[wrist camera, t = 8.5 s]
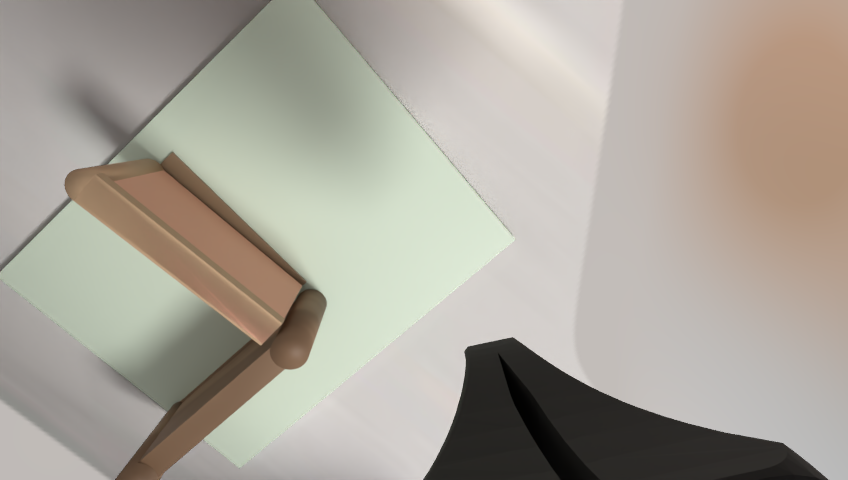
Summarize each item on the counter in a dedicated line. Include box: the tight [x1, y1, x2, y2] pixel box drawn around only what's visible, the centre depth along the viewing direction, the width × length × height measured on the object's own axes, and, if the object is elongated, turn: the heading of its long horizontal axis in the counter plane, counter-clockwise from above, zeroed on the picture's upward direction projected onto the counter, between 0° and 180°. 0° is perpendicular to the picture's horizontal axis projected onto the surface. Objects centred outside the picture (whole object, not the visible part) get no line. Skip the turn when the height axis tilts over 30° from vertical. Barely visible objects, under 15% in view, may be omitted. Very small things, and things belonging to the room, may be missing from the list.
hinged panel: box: [65, 159, 302, 345], centre depth 17 cm, size 1×8×4 cm, turn 45°
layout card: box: [0, 0, 516, 468], centre depth 20 cm, size 14×18×1 cm
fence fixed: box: [115, 289, 327, 480], centre depth 19 cm, size 1×10×4 cm, turn 131°
